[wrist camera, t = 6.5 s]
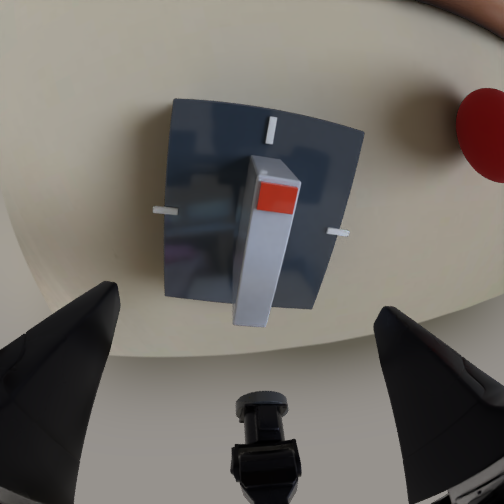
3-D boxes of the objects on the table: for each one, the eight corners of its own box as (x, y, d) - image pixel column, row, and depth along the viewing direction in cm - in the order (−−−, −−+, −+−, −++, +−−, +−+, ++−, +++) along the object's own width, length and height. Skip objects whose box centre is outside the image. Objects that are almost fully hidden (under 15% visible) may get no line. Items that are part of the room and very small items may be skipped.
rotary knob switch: (310, 285, 21) (320, 311, 18) (164, 270, 19) (155, 296, 17) (353, 129, 15) (376, 135, 12) (174, 100, 14) (160, 97, 11)
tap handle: (258, 275, 16) (266, 331, 12) (232, 272, 16) (232, 329, 12) (281, 159, 13) (303, 183, 9) (250, 154, 13) (258, 176, 9)
